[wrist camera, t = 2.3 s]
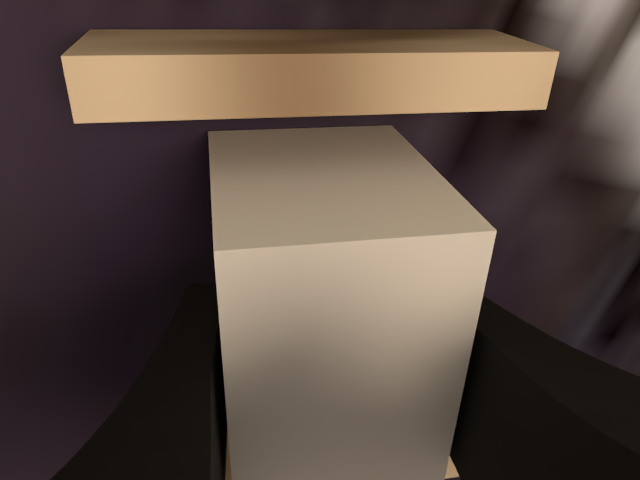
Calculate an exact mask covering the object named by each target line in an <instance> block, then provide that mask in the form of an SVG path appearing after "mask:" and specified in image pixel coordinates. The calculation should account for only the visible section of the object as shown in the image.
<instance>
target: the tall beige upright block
mask: <svg viewBox="0 0 640 480" xmlns="http://www.w3.org/2000/svg"><path fill="white" fill-rule="evenodd" d="M208 143H209V164H210V186H211V207H212V229H213V250H214V263H215V276H216V288H217V301H218V314H219V326H220V339H221V352H222V364H223V377H224V389H225V402H226V415H227V427H228V440H229V452H230V465H231V478H232V480H444V479H445V474H446V469H447V465H448V460H449V455H450V450H451V446H452V441H453V436H454V431H455V427H456V422H457V417H458V412H459V408H460V403H461V398H462V393H463V389H464V384H465V379H466V374H467V370H468V365H469V360H470V356H471V351H472V346H473V341H474V337H475V332H476V327H477V322H478V318H479V313H480V308H481V303H482V299H483V294H484V289H485V284H486V280H487V275H488V270H489V265H490V261H491V256H492V251H493V246H494V242H495V237H496V232H497V230H496V229H495V228H494V227H493V226H492V225H491V224H490V223H489V222H488V221H487V220H486V219H485V218H484V217H483V216H482V215H481V214H480V213H479V212H478V211H477V210H476V209H475V208H474V207H473V206H472V205H471V204H470V203H469V202H468V201H467V200H466V199H465V198H464V197H463V196H462V195H461V194H460V193H459V192H458V191H457V190H456V189H455V188H454V187H453V186H452V185H451V184H450V183H449V182H448V181H447V180H446V179H445V178H444V177H443V176H442V175H441V174H440V173H439V172H438V171H437V170H436V169H435V168H434V167H433V166H432V165H431V164H430V163H429V162H428V161H427V160H426V159H425V158H424V157H423V156H422V155H421V154H420V153H419V152H418V151H417V150H416V149H415V148H414V147H413V146H412V145H411V144H410V143H409V142H408V141H407V140H406V139H405V138H404V137H403V136H402V135H401V134H400V133H399V132H398V131H397V130H396V129H395V128H394V127H393V126H392V125H381V126H351V127H322V128H292V129H262V130H232V131H208Z"/></svg>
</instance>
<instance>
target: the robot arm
mask: <svg viewBox="0 0 640 480" xmlns="http://www.w3.org/2000/svg"><path fill="white" fill-rule="evenodd" d="M226 451H227V415H226V402H225V389H224V377H223V364H222V352H221V339H220V326H219V314H218V301H217V288H216V283H205V284H193V285H189V286H188V287H187V288H186V289H185V290H184V294H183V297H182V299H181V302H180V305H179V307H178V309H177V311H176V314H175V316H174V318H173V320H172V322H171V324H170V326H169V328H168V330H167V331H166V333H165V335H164V337H163V339H162V340H161V342H160V344H159V346H158V348H157V349H156V351H155V353H154V354H153V356H152V357H151V359H150V360H149V362H148V364H147V365H146V367H145V368H144V370H143V371H142V373H141V374H140V376H139V377H138V379H137V380H136V382H135V383H134V385H133V386H132V387H131V389H130V390H129V392H128V393H127V394H126V396H125V397H124V398H123V400H122V401H121V402H120V404H119V405H118V406H117V407H116V409H115V410H114V411H113V412H112V414H111V415H110V416H109V417H108V419H107V420H106V421H105V422H104V423H103V424H102V426H101V427H100V428H99V429H98V430H97V431H96V432H95V433H94V435H93V436H92V437H91V438H90V439H89V440H88V441H87V442H86V444H85V445H84V446H83V447H82V448H81V449H80V450H79V451H78V452H77V453H76V454H75V455H74V456H73V457H72V459H71V460H70V461H69V462H68V463H67V464H66V465H65V466H64V467H63V468H62V469H60V470H59V471H58V472H57V473H56V474H55V475H54V476H53V477H52V478H51V479H50V480H225V475H226ZM449 456H450V458H451V460H452V462H453V464H454V466H455V468H456V470H457V472H458V474H459V477H460V479H461V480H640V377H639V376H637V375H634V374H631V373H629V372H626V371H624V370H621V369H619V368H617V367H614V366H612V365H610V364H607V363H605V362H603V361H600V360H598V359H596V358H594V357H592V356H590V355H588V354H586V353H583V352H581V351H579V350H577V349H575V348H573V347H571V346H569V345H567V344H565V343H563V342H561V341H559V340H557V339H555V338H553V337H551V336H550V335H548V334H546V333H544V332H542V331H541V330H539V329H537V328H535V327H533V326H532V325H530V324H528V323H526V322H525V321H523V320H521V319H520V318H518V317H516V316H515V315H513V314H511V313H510V312H508V311H506V310H505V309H503V308H502V307H500V306H498V305H497V304H495V303H494V302H492V301H491V300H489V299H487V298H486V297H484V296H483V299H482V303H481V308H480V313H479V318H478V322H477V327H476V332H475V337H474V341H473V346H472V351H471V356H470V360H469V365H468V370H467V374H466V379H465V384H464V389H463V393H462V398H461V403H460V408H459V412H458V417H457V422H456V427H455V431H454V436H453V441H452V446H451V450H450V455H449Z"/></svg>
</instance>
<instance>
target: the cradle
mask: <svg viewBox="0 0 640 480" xmlns="http://www.w3.org/2000/svg"><path fill="white" fill-rule="evenodd" d="M558 56H559V51H556V50H553V49H550V48H547V47H544V46H541V45H538V44H535V43H532V42H529V41H526V40H523V39H520V38H517V37H514V36H511V35H508V34H505V33H502V32H499V31H496V30H493V29H178V30H89V31H88V32H87V33H86V34H85V35H84V36H82V37H81V38H80V39H79V40H78V41H77V42H76V43H75V44H73V45H72V46H71V47H70V48H69V49H68V50H67V51H66V52H65V53H63V54H62V55H61V60H62V65H63V70H64V75H65V80H66V85H67V90H68V95H69V100H70V105H71V110H72V115H73V120H74V123H106V122H140V121H174V120H208V119H241V118H275V117H309V116H343V115H377V114H410V113H444V112H478V111H512V110H545V109H546V107H547V103H548V99H549V94H550V90H551V86H552V82H553V77H554V73H555V69H556V64H557V60H558ZM453 477H459V474H458V472H457V470H456V468H455V466H454V464H453V462H452V460H451V458H450V456H449V460H448V465H447V469H446V474H445V479H447V478H453ZM225 480H232V478H231V465H230V452H229V440H228V427H227V451H226V475H225Z"/></svg>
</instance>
